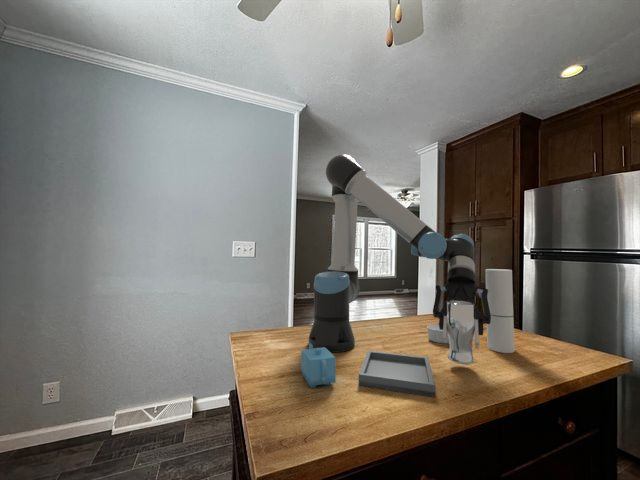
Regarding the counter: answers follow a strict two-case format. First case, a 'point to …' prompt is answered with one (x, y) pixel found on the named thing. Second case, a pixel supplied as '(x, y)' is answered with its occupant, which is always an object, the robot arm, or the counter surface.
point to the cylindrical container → (500, 310)
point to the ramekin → (436, 334)
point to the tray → (397, 373)
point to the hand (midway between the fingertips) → (460, 342)
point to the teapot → (318, 366)
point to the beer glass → (460, 331)
